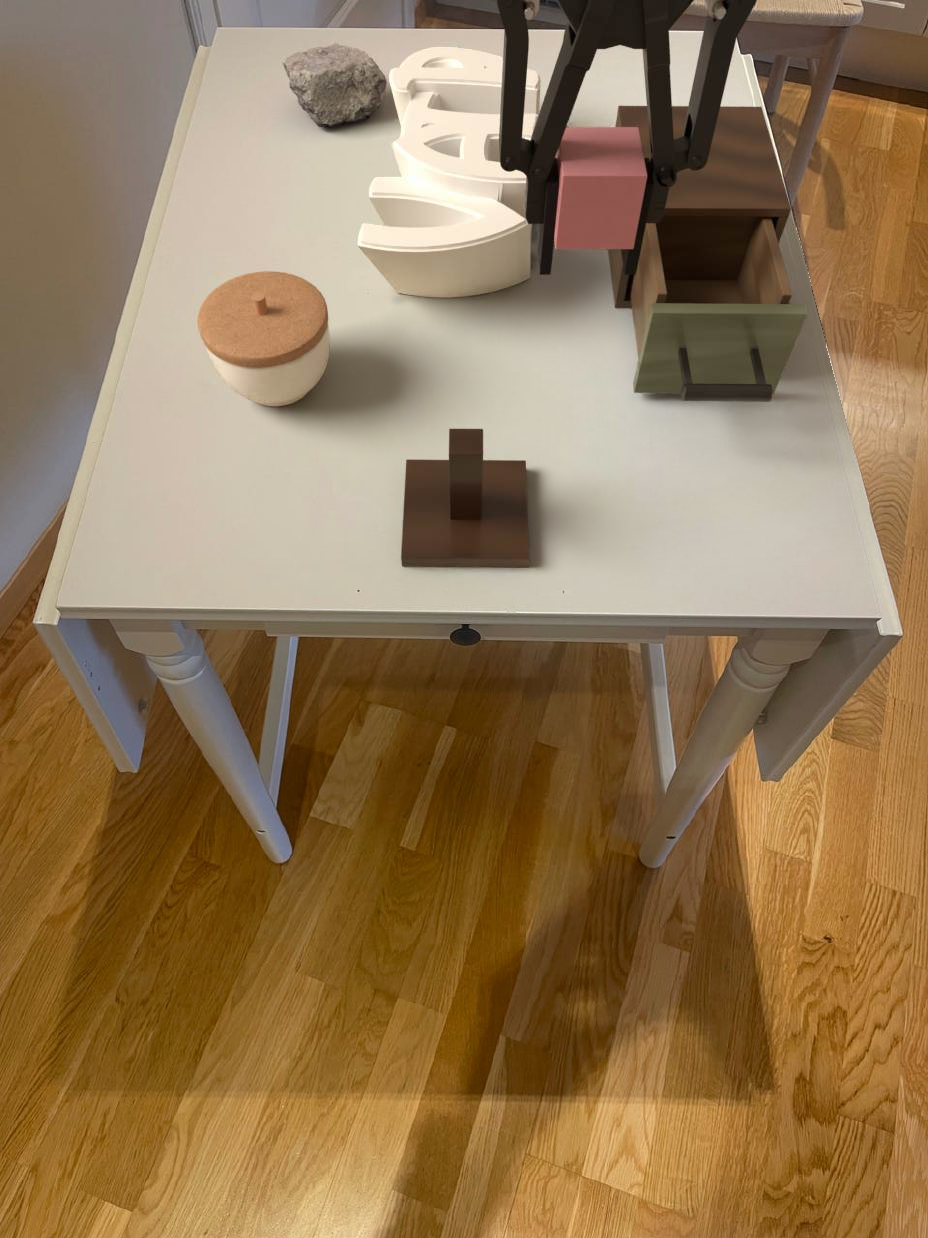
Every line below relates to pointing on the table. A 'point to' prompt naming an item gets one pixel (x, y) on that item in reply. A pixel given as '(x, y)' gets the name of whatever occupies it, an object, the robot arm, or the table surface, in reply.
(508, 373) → the table surface
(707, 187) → the cabinet
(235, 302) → the trinket box
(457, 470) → the stand
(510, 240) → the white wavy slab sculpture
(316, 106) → the rock
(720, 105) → the robot arm
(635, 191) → the block
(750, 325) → the drawer
